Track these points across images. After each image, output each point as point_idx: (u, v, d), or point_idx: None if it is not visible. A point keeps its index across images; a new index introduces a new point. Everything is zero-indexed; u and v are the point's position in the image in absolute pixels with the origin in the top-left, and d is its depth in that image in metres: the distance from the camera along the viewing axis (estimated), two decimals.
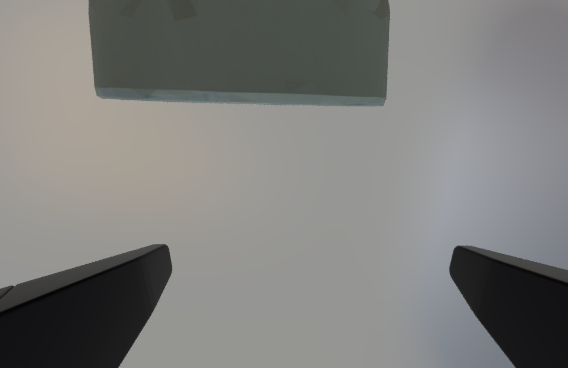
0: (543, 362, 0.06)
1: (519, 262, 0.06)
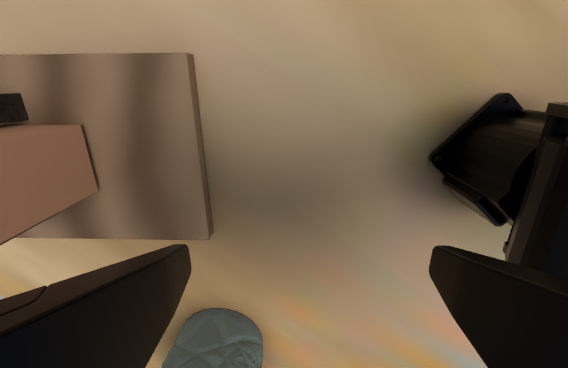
0: (511, 362, 0.06)
1: (492, 262, 0.06)
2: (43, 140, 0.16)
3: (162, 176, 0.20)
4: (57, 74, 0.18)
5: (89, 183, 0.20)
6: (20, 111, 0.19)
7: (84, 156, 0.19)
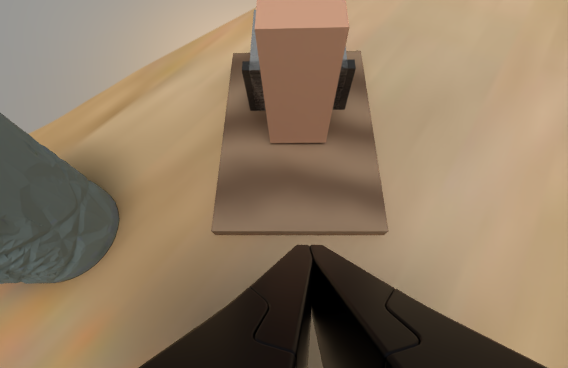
0: (327, 359, 0.06)
1: (331, 261, 0.06)
2: (323, 120, 0.21)
3: (281, 196, 0.23)
4: (360, 135, 0.25)
5: (278, 139, 0.24)
6: None
7: (301, 140, 0.24)
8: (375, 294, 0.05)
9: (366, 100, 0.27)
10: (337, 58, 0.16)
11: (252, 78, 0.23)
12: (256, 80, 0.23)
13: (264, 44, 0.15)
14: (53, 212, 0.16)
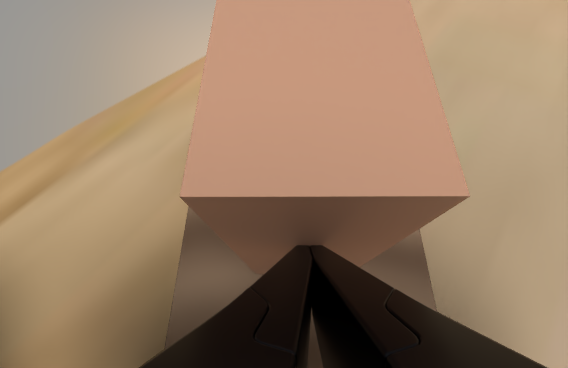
0: (327, 359, 0.06)
1: (331, 261, 0.06)
2: None
3: None
4: (403, 259, 0.15)
5: None
6: None
7: None
8: (375, 294, 0.05)
9: None
10: (406, 227, 0.06)
11: None
12: None
13: (216, 214, 0.06)
14: None
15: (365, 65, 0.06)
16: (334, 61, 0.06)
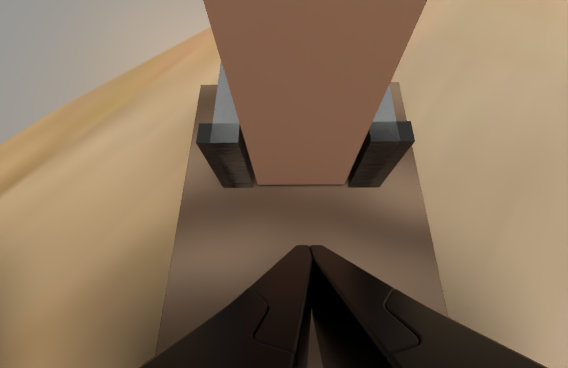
0: (327, 359, 0.06)
1: (331, 261, 0.06)
2: (345, 157, 0.13)
3: None
4: (408, 238, 0.15)
5: (270, 180, 0.15)
6: (360, 184, 0.15)
7: (306, 181, 0.15)
8: (375, 294, 0.05)
9: (414, 170, 0.16)
10: (392, 50, 0.07)
11: (218, 153, 0.12)
12: (226, 155, 0.12)
13: (225, 16, 0.06)
14: None
15: None
16: None
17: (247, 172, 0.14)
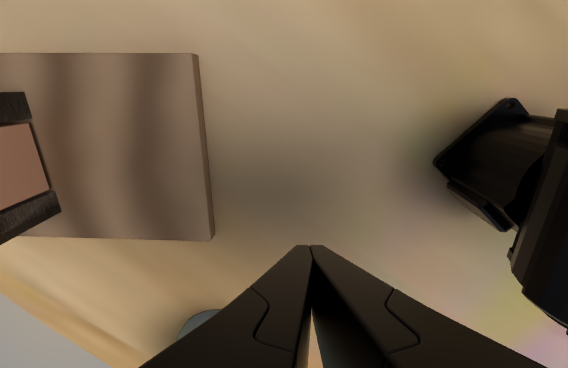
0: (327, 359, 0.06)
1: (331, 261, 0.06)
2: None
3: (165, 176, 0.20)
4: (61, 73, 0.18)
5: (39, 182, 0.20)
6: (23, 110, 0.19)
7: (32, 155, 0.19)
8: (375, 294, 0.05)
9: None
10: None
11: (7, 228, 0.18)
12: (9, 223, 0.18)
13: None
14: None
15: None
16: None
17: (31, 202, 0.19)
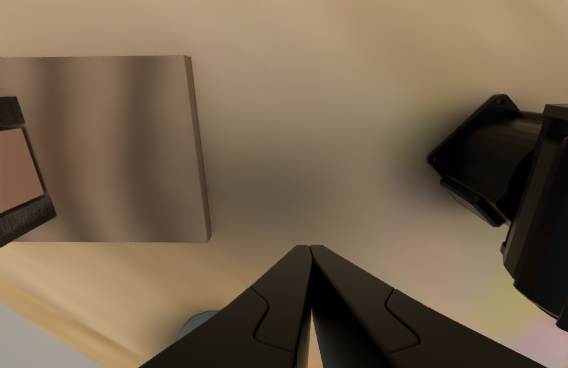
0: (327, 359, 0.06)
1: (331, 261, 0.06)
2: None
3: (160, 179, 0.20)
4: (54, 77, 0.18)
5: (33, 186, 0.20)
6: (16, 115, 0.19)
7: (26, 159, 0.19)
8: (375, 294, 0.05)
9: None
10: None
11: (2, 234, 0.18)
12: (3, 228, 0.18)
13: None
14: None
15: None
16: None
17: (25, 207, 0.19)
